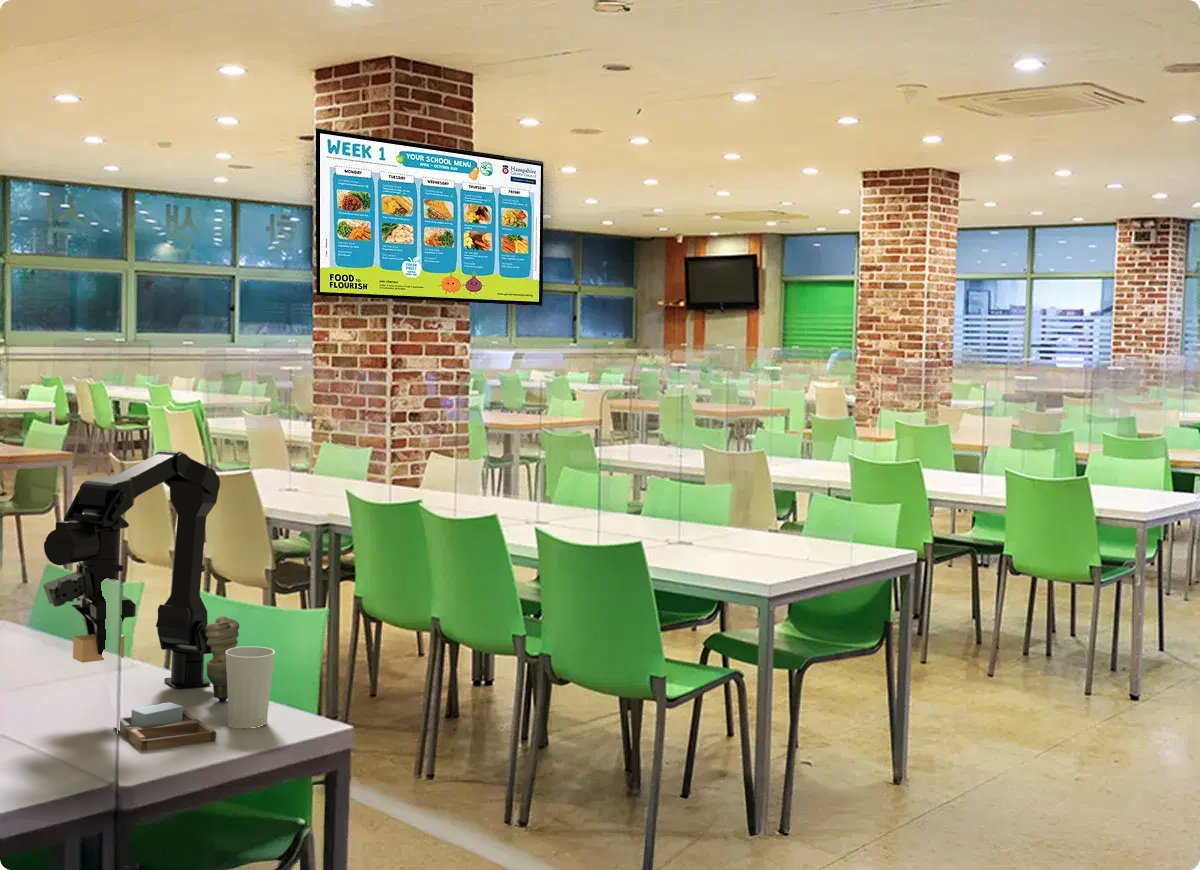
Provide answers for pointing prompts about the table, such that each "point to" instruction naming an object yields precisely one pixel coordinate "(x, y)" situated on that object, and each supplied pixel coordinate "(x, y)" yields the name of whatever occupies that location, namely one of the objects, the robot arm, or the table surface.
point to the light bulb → (220, 653)
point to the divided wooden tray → (167, 733)
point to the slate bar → (156, 715)
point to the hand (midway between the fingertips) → (97, 651)
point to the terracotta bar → (89, 648)
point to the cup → (248, 685)
